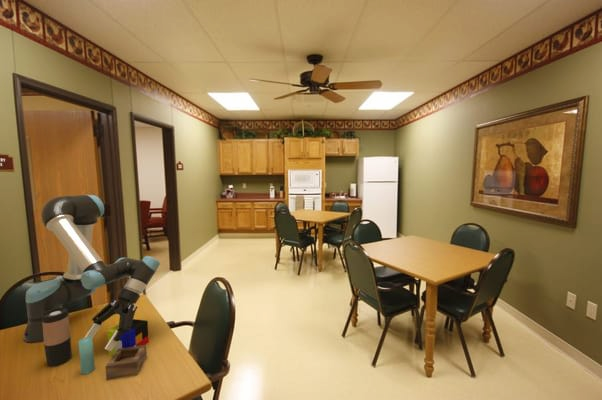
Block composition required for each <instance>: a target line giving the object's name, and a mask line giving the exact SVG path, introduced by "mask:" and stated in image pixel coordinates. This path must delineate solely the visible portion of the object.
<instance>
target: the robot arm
mask: <svg viewBox="0 0 602 400" xmlns="http://www.w3.org/2000/svg"><path fill="white" fill-rule="evenodd" d="M104 213H105V206H104V203H103V201H102V200H101V199H100V197H98V195H95V194H94V195H93V194H81V195H79V194H77V195H67V196H66V195H62V196H57V197H53V198H51V199H50V200H48V201H47V202H46V203H45V204H44V206H43V207H42V209H41V212H40V215H41V216H40V217H41V221H42V224H43V226H44V227H45V228H46V229H47V230H48V231H51V232H53V234H54V235H55V237H56V238H57V239H58V240H59V242H60V243H61V244H62V246H63V247H64V248H65V250H66V251H67V253H68V260H67V261H68V262H67V271H66V272H64V273H63V276H62V277H63V278H62V280H60V279H49V280H45V281H42V282H39V283H37V284H34V285H32V286H30V287H29V288H28V289H27V290H26V293H25V299H24V300H25V303H26V304H25V305H26V306H25V307H26V312H27V313H26V314H27V325H26V327H25V329H24V330H25V331H24V335H23V340H24V342H26V343H29V342H33V343H40V342H44V336H43V323H42V315H43V314H44V313H45V312H47V311H50V310H52V309H56V308H63V306H65V305H68V304H70V303H72V302H75V301H77V300H81V299H84V298H87V297H88V296H91V295H92V294H93V293H96V291H97V289H98V288H101V287H103V286H106V285H108V284H110V283H113V282H116V281H119V280H121V279H124V278H126V277H127V278H128V277H129V279H128V280H127V281H126V283H125V285H124V286H123V287H124V288H122V289H121V291H120V292H119V294H118V295H117V298H118V299H117V300H116V299H114V298H112V299H111V300H110V301H109V302H108V304H107V305H105V306H104V307H103V308H102V309H101V310H100V311H99V312H98V313H97V314H96V315H94V317H92V318H91V321H92V322H93V324H92V325H91V326H90V328H89V329H88V331H87V333H86V334H85V336H84V337H83V338H85V337H92V339H94V337H95V335H96V333H97V332H98V330H100V328H101V327H102V323H104V322H105V321H107V320H108V319H109V318H111V317H112V316H114V315H116V314H117V315H119V319H118V324H119V329H117V330H118V331H117V330H116V331H115V333H114V335H113V336H112V338H111V339H110V341H109V342H108V341H107V344H106V346H105V347H104V350H107V351H108V352H109V351H112V350H113V348H114V346H115V345H116V343H117V342H118V341H119V340H120V338H121V336H122V335H123V333H125V332H129V331H130V329H131V325H132V322H133V319H135V314H136V311H137V309H138V305H135V304H136V303H137V302H138V301H139V299H140V297H141V294H143V292H144V291H145V289H146V287H147V286H148V284H149V283H150V281H151V279H152V278H153V276H154V275H155V274H156V272H157V270H158V269H159V266H160V265H161V262H160V261H159V260H158V259H157V258H155V257H153V256H149V255H145V256H144V257H143V258H142V259H141V260H140V259H136V258H131V257H120V258H118V259H117V260H116V261H115V262H114V263H109V264H106V263H105V262H104V261H103V259H102V257H101V256H100V255H99V254H98V252H97V251H96V250H95V249H94V247H93V246H92V244H93V232H94V231H93V230H94V226H95V225H96V224H97V223H98V218H101V217H102V216H103V215H104ZM127 327H128V328H127Z"/></svg>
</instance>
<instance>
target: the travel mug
mask: <svg viewBox="0 0 602 400" xmlns="http://www.w3.org/2000/svg"><path fill="white" fill-rule="evenodd" d="M42 323H43V336H44V341H43V346H44V352H45V359H46V364H47V365H46V366H47V367H49V368H54V367H59V366H62V365H64V364H65V363H67V362H68V361H70V359H71V358H72V343H71V342H72V341H71V330H70V329H71V328H70V316H69V308H65V307H62V308H56V309H52V310H50V311H47V312H45V313H44V314H43V315H42Z"/></svg>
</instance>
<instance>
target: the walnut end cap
mask: <svg viewBox="0 0 602 400" xmlns="http://www.w3.org/2000/svg"><path fill="white" fill-rule="evenodd" d="M147 357H148V356H147V344H146V345H143V346H135V347H128V348H121V349H117V351H116V352H115V354H114V355H111V358H110V359H109V360H108V363H106V365H105V366H104V367H105V378H106V380H113V379H118V378H125V377H131V376H137V375H139V373H140V371H141V370H142V368H143V366H144V363H145V362H146V359H147Z"/></svg>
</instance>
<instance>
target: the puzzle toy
mask: <svg viewBox="0 0 602 400" xmlns="http://www.w3.org/2000/svg"><path fill="white" fill-rule="evenodd" d="M148 324H149V323H148V320H144V319H135V318H133V322H132V325H131V329H130V331H129V332H125V333H123V335H122V336H121V338H120V340H119V341H118V342H117V343H116V345H115V346H114V348H113V350H112V351H109V350H108V355H111V356H113V355H114V354H115V352H116V351H117V349H121V348H128V347H135V346H143V345H146V346H147V345H148V344H149V343H150V341H149V325H148ZM127 328H128V327H127ZM117 329H119V323H118V324H116V325H115V326H114V327H111V329H109V330H107V331H106V332H107V343H108V342H109V341H110V339H111V338H112V336H113V335H114V333H115V331H116V330H117ZM117 331H118V330H117Z"/></svg>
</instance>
